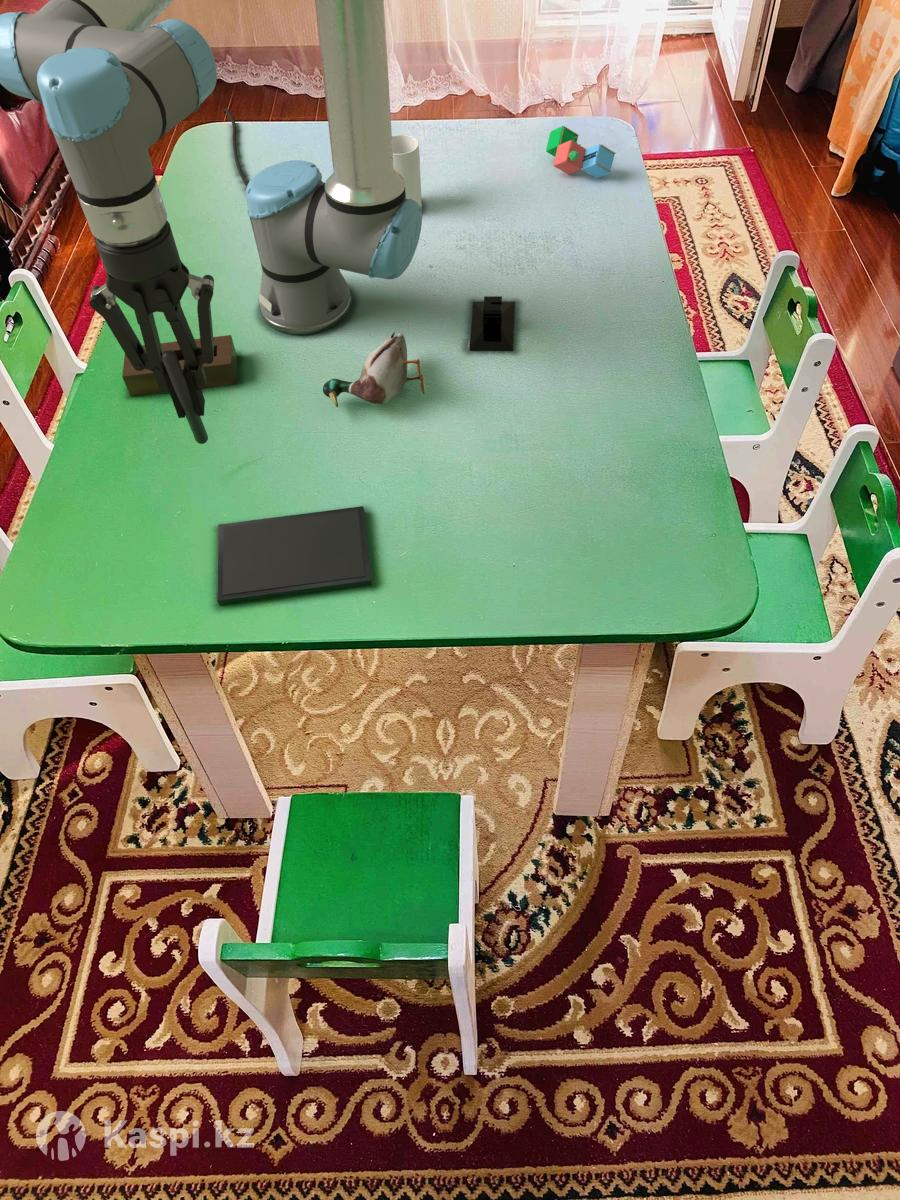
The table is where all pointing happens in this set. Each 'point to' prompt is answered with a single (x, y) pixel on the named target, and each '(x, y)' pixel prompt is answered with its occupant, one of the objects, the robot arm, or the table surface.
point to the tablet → (292, 555)
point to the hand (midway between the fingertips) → (191, 409)
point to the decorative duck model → (378, 374)
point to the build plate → (492, 325)
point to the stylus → (184, 395)
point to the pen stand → (216, 372)
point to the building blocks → (578, 154)
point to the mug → (408, 164)
